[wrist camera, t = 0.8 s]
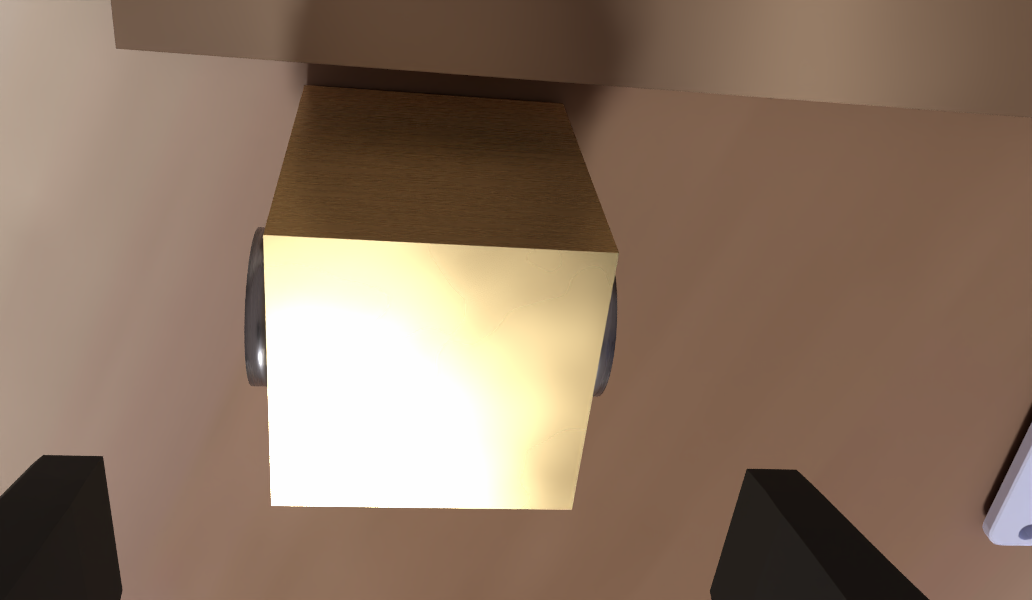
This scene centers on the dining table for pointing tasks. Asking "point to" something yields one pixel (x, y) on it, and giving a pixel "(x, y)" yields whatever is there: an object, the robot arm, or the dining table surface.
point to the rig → (636, 43)
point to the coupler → (430, 303)
